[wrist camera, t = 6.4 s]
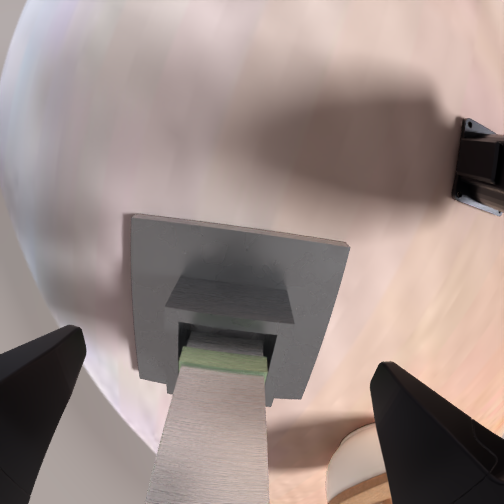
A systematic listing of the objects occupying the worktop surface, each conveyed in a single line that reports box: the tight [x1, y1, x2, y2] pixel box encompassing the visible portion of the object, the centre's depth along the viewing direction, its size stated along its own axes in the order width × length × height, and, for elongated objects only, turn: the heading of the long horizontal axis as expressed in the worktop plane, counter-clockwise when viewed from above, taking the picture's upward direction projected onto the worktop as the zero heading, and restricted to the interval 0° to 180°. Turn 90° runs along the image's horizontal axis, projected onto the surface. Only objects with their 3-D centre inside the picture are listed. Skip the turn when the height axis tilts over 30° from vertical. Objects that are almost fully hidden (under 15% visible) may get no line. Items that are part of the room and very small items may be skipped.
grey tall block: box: [145, 331, 270, 504], centre depth 12 cm, size 4×5×10 cm
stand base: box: [131, 214, 350, 407], centre depth 19 cm, size 14×14×5 cm
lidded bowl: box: [325, 423, 392, 504], centre depth 22 cm, size 13×13×11 cm
